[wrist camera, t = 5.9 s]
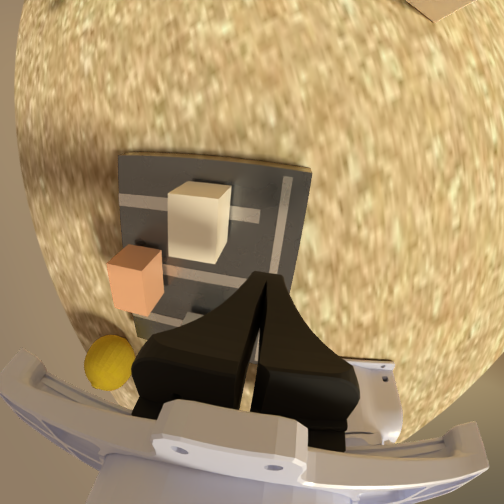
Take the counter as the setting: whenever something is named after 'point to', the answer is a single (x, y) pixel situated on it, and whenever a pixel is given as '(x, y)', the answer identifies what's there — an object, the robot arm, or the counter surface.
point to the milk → (438, 7)
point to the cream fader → (198, 221)
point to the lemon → (109, 362)
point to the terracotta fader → (136, 279)
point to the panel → (239, 227)
